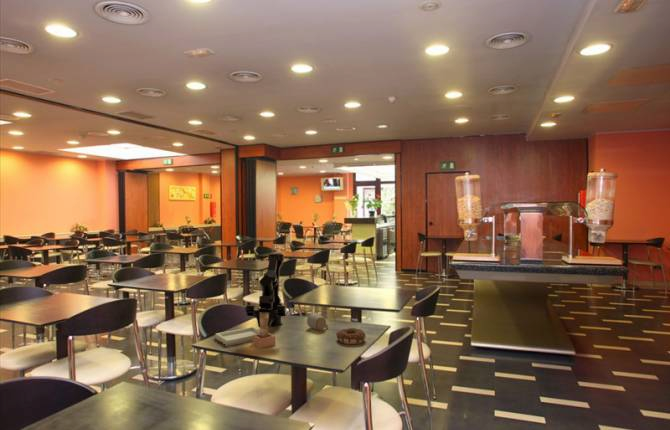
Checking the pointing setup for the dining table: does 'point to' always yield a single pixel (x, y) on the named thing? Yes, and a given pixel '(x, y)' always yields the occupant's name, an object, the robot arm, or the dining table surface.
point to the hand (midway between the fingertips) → (263, 326)
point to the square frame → (264, 340)
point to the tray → (237, 336)
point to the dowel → (264, 324)
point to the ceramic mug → (316, 321)
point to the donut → (351, 336)
